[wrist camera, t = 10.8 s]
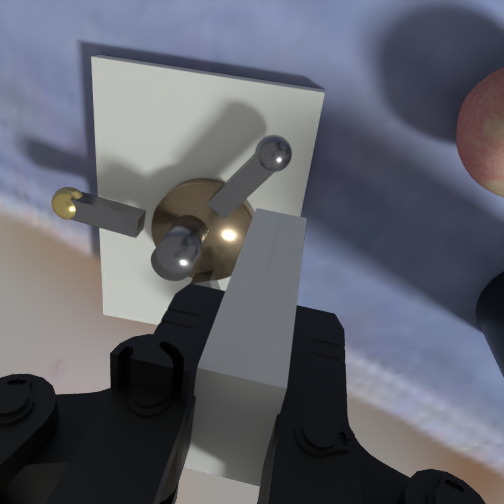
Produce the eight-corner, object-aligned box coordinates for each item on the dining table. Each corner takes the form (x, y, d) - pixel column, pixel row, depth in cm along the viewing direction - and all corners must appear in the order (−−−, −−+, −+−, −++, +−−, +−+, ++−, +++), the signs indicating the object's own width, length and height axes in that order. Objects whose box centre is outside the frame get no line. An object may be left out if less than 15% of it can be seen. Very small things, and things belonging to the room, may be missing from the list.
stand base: (100, 54, 31) (4, 71, 22) (324, 89, 30) (327, 123, 21) (110, 305, 42) (48, 390, 32) (275, 336, 41) (262, 433, 31)
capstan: (66, 279, 39) (24, 324, 33) (75, 68, 30) (20, 79, 24) (238, 329, 39) (225, 381, 33) (298, 132, 30) (293, 158, 25)
